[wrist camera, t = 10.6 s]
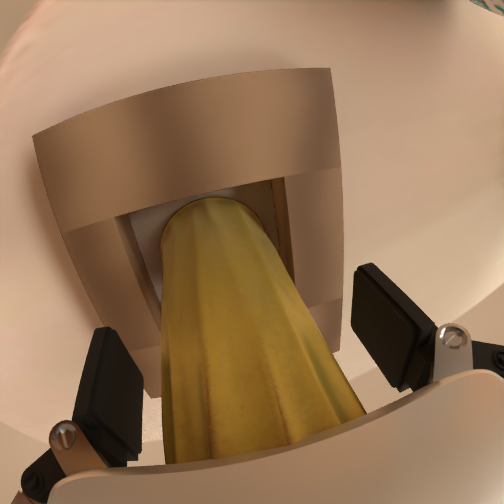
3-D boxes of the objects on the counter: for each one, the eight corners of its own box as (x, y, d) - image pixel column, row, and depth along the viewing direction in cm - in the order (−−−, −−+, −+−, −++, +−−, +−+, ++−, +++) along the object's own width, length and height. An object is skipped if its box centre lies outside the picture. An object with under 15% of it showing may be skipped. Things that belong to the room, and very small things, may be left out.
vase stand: (309, 73, 13) (330, 67, 11) (325, 329, 22) (339, 350, 20) (53, 131, 11) (32, 136, 9) (151, 373, 20) (151, 398, 18)
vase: (216, 308, 18) (274, 537, 6) (139, 253, 16) (105, 533, 3) (285, 243, 17) (437, 458, 5) (211, 173, 15) (354, 461, 2)
